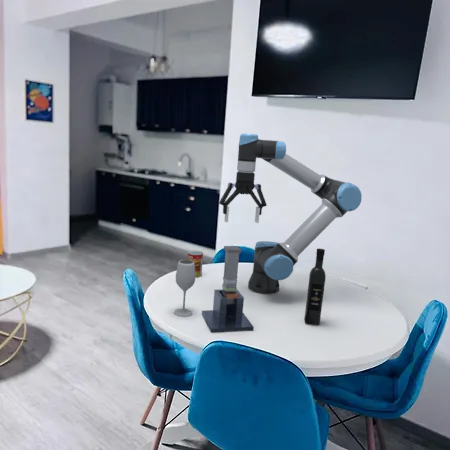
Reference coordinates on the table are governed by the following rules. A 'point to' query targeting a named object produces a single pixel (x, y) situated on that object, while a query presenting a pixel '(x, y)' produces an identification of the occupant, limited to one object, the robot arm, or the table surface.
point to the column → (230, 272)
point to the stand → (227, 314)
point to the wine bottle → (315, 291)
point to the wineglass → (185, 282)
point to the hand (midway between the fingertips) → (241, 222)
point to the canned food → (196, 261)
